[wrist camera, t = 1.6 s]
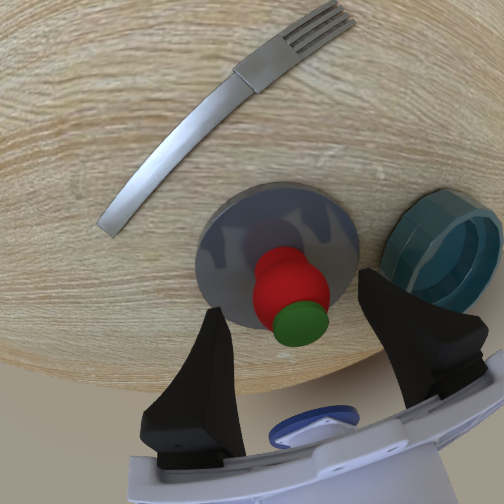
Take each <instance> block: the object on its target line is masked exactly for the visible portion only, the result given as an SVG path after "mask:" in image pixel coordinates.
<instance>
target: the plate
mask: <svg viewBox="0 0 504 504" xmlns="http://www.w3.org/2000/svg"><path fill="white" fill-rule="evenodd" d="M278 247H292V248H295V249H297V250H299V251H301V252H302V253H303V254H304V255H305V257H306V258H307V260H308V262H309V263H310V264H311V265H313V266H315V267H316V268H317V269H318V270H319V271H320V272H321V273H322V274H323V276H324V277H325V279H326V281H327V283H328V286H329V290H330V305H329V308H330V307H331V306H332V305H333V304H334V303H335V302H336V301H337V300H338V299H339V298H340V297H341V296H342V295H343V293H344V292H345V291H346V289H347V288H348V286H349V285H350V283H351V281H352V279H353V277H354V275H355V272H356V269H357V265H358V260H359V240H358V236H357V232H356V229H355V227H354V224H353V222H352V221H351V219H350V217H349V216H348V214H347V213H346V212H345V211H344V210H343V209H342V208H341V207H340V206H339V205H338V204H337V203H336V202H335V201H334V200H333V199H332V198H330V197H329V196H328V195H326V194H325V193H323V192H321V191H320V190H318V189H315V188H313V187H310V186H307V185H303V184H299V183H290V182H276V183H269V184H263V185H259V186H256V187H253V188H250V189H248V190H246V191H243V192H241V193H239V194H238V195H236V196H234V197H233V198H231V199H229V200H228V201H227V202H226V203H225V204H223V205H222V206H221V207H220V208H219V209H218V210H217V211H216V212H215V213H214V214H213V215H212V217H211V218H210V220H209V221H208V222H207V224H206V225H205V227H204V229H203V231H202V233H201V236H200V239H199V242H198V246H197V252H196V260H195V273H196V279H197V283H198V286H199V289H200V291H201V293H202V295H203V297H204V298H205V300H206V301H207V303H208V304H209V305H210V306H211V307H212V308H215V307H219V306H220V308H221V310H222V313H223V315H224V318H226V319H227V320H229V321H231V322H233V323H236V324H238V325H241V326H244V327H248V328H253V329H263V330H268V329H267V328H266V327H265V326H264V325H263V324H262V323H261V322H260V321H259V319H258V317H257V315H256V313H255V311H254V307H253V289H254V286H255V283H256V279H255V267H256V264H257V262H258V261H259V259H260V258H261V257H262V256H263V255H264V254H265V253H266V252H268V251H270V250H272V249H274V248H278Z"/></svg>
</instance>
